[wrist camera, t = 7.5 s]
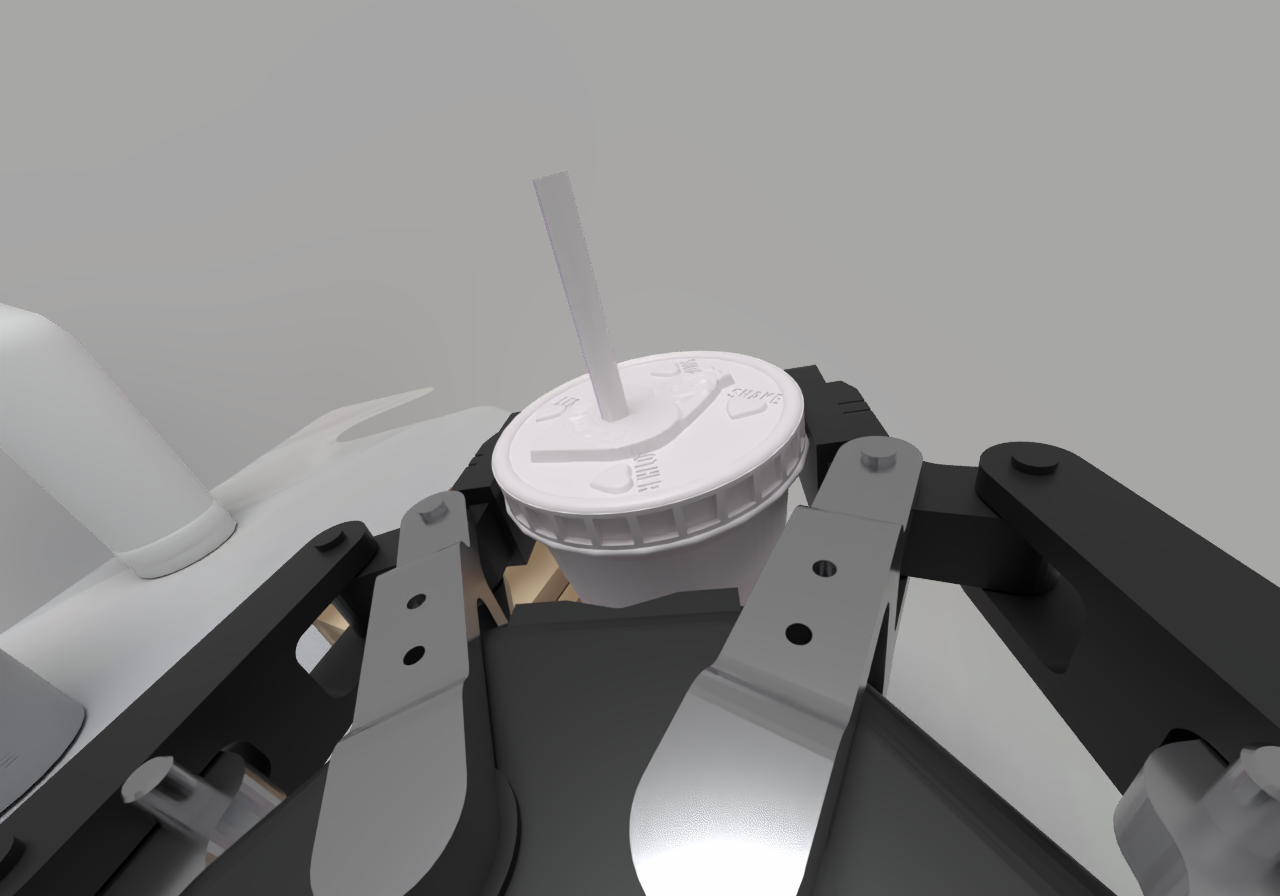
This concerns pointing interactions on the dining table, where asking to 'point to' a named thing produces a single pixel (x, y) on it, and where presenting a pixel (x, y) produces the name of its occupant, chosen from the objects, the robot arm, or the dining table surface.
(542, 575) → the brown wooden tray
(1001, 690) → the dining table surface
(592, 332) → the smoothie
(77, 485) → the bottle
